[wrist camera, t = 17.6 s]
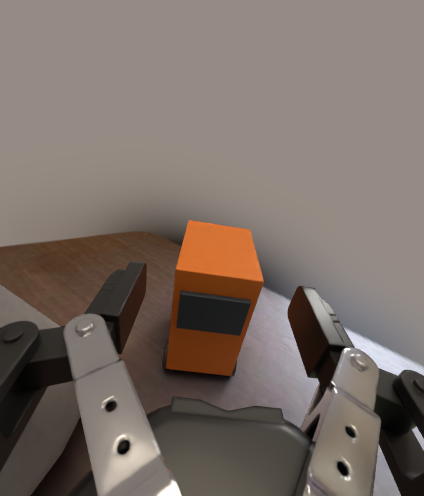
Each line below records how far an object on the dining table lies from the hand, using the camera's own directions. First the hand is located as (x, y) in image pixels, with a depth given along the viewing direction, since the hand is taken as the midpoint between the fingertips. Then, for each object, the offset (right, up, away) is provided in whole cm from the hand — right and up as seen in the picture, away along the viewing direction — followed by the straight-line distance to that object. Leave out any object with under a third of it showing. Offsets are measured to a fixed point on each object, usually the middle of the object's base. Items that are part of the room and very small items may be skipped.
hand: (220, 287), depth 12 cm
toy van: (-1, -6, +8) cm, 10 cm away
